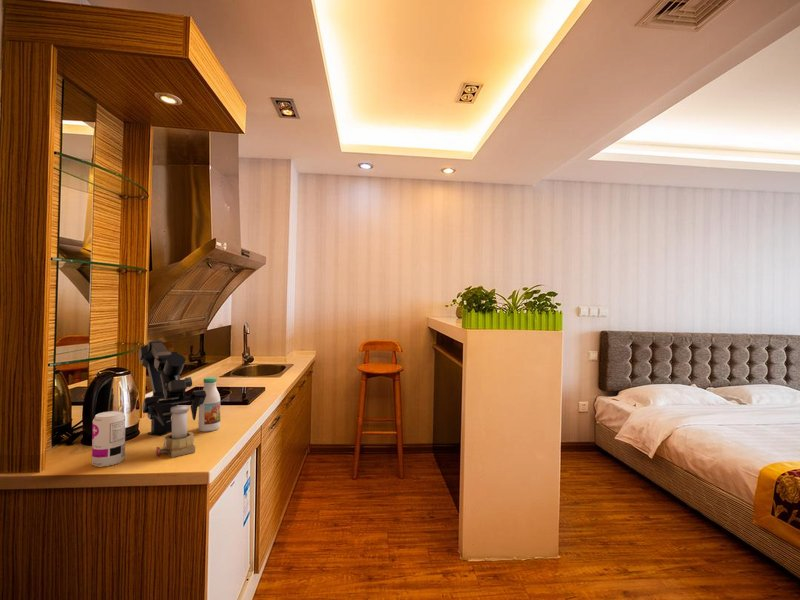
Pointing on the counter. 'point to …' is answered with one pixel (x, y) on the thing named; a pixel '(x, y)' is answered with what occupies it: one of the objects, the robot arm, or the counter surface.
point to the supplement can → (108, 438)
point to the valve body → (177, 445)
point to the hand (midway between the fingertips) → (179, 422)
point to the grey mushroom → (179, 421)
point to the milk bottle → (210, 407)
